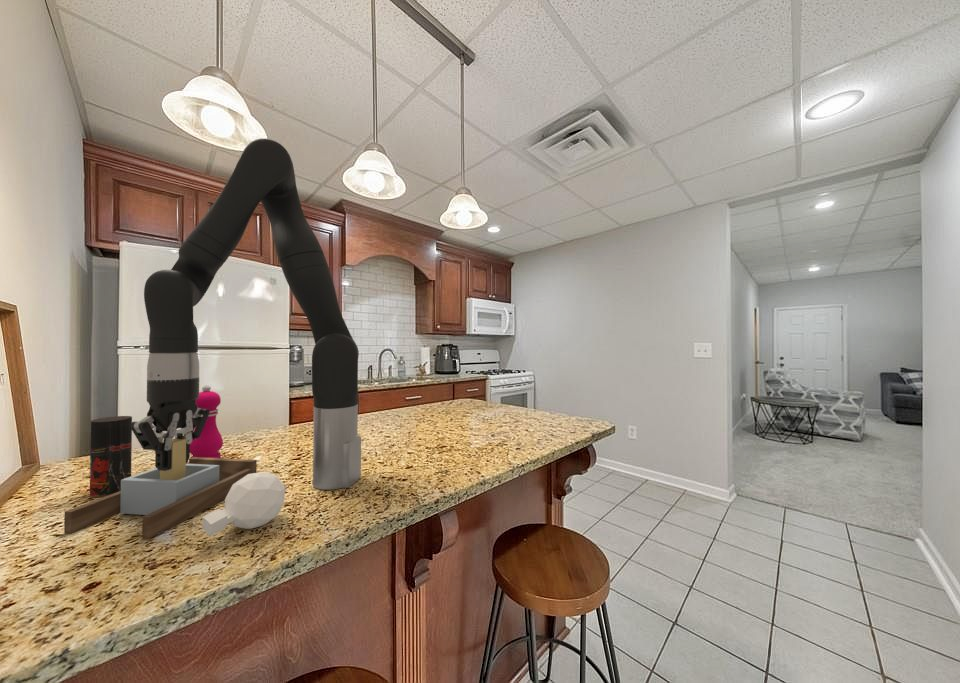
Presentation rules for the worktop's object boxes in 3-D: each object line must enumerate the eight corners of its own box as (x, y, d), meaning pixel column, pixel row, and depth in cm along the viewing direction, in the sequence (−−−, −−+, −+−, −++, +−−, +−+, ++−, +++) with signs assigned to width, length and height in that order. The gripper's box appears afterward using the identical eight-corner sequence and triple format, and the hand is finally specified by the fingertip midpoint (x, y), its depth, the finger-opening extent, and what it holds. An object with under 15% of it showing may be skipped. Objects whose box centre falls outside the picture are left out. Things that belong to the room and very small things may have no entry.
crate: (219, 494, 70) (219, 435, 70) (175, 516, 61) (176, 448, 61) (170, 491, 71) (171, 433, 71) (120, 513, 62) (121, 446, 62)
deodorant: (137, 487, 74) (138, 417, 74) (99, 498, 68) (100, 423, 68) (121, 483, 76) (121, 415, 76) (82, 494, 70) (83, 420, 70)
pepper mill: (229, 458, 93) (230, 383, 93) (205, 467, 86) (206, 387, 86) (205, 457, 93) (206, 383, 94) (179, 466, 86) (180, 386, 86)
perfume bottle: (264, 495, 66) (190, 534, 55) (268, 454, 64) (191, 486, 53) (294, 519, 63) (221, 564, 52) (299, 476, 60) (224, 514, 50)
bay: (256, 482, 77) (256, 459, 77) (148, 539, 54) (149, 507, 54) (193, 479, 78) (194, 457, 78) (64, 533, 56) (64, 502, 56)
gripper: (152, 380, 59) (151, 482, 59) (222, 373, 73) (222, 455, 72) (114, 380, 59) (113, 480, 59) (190, 373, 73) (190, 454, 73)
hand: (173, 466), depth 66 cm, fingers closed on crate, 2 cm apart
